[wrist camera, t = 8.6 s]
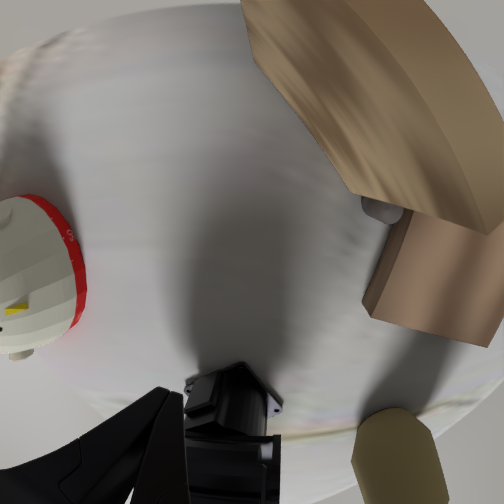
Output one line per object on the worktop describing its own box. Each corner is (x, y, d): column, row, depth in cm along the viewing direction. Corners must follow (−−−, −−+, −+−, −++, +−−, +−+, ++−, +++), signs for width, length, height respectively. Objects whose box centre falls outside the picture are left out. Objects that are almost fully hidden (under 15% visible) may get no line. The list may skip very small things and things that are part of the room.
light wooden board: (391, 206, 19) (546, 267, 5) (369, 222, 19) (506, 309, 6) (278, 46, 16) (275, -109, 3) (254, 61, 17) (215, -91, 3)
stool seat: (526, 193, 17) (544, 196, 15) (474, 334, 21) (487, 347, 18) (422, 123, 17) (439, 118, 15) (361, 302, 21) (370, 317, 18)
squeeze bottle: (424, 388, 23) (496, 537, 5) (413, 437, 25) (457, 564, 7) (345, 409, 24) (378, 586, 6) (345, 455, 26) (364, 595, 8)
